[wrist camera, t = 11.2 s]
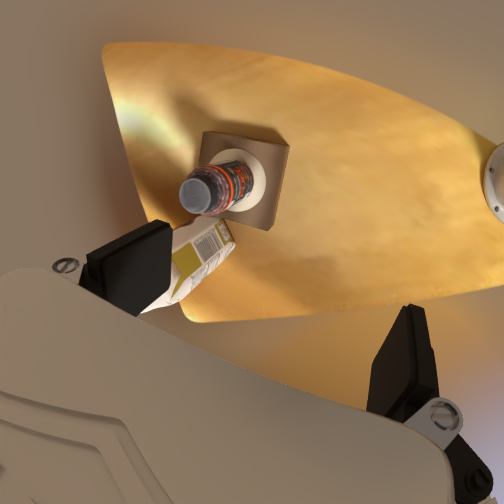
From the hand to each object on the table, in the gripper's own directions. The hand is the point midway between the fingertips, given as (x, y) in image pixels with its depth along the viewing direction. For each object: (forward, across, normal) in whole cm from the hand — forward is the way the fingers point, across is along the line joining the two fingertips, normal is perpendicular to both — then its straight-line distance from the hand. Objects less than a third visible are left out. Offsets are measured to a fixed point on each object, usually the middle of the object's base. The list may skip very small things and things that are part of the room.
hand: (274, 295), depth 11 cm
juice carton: (+32, +18, +15) cm, 40 cm away
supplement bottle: (+29, +14, +4) cm, 33 cm away
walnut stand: (+32, +14, +4) cm, 35 cm away
